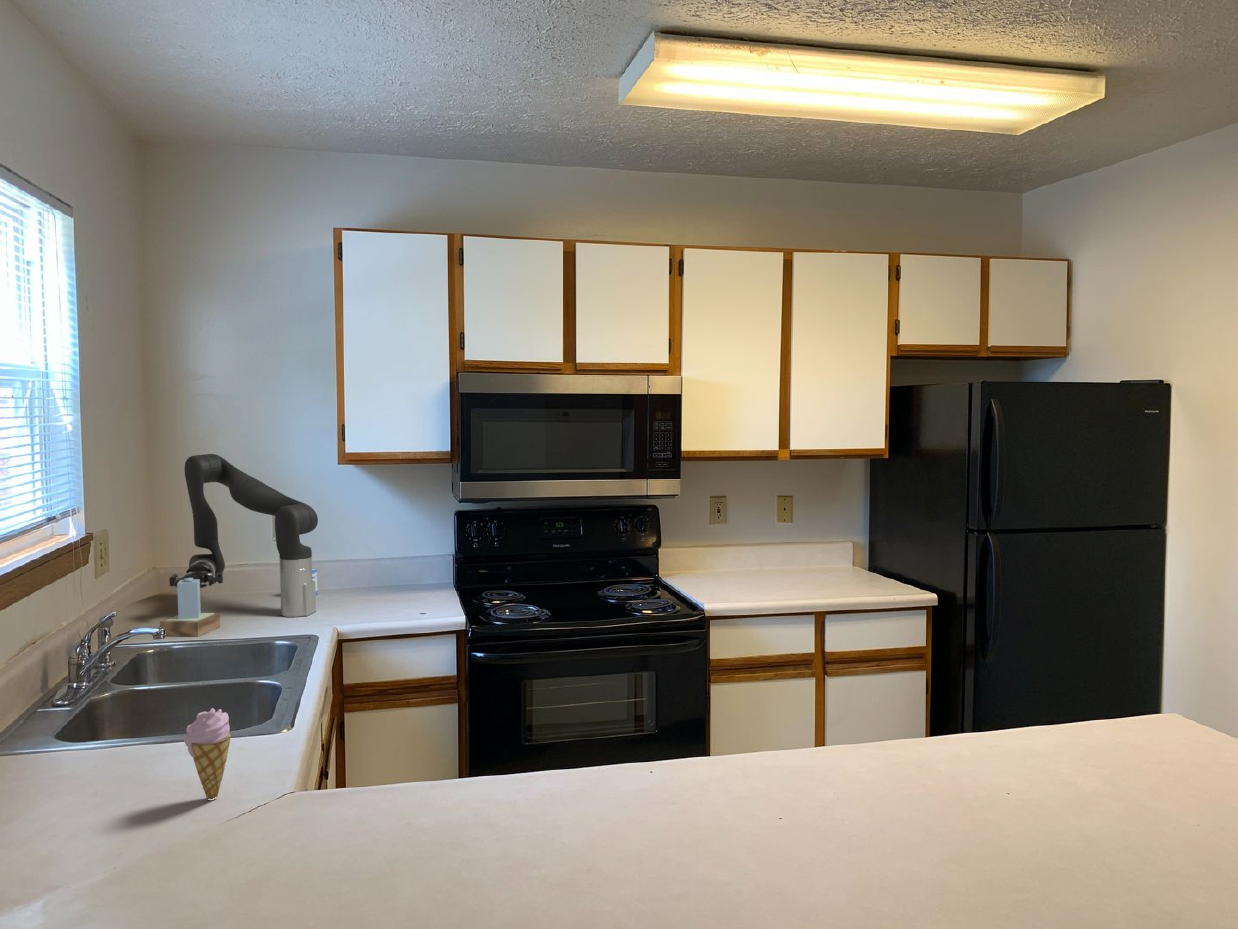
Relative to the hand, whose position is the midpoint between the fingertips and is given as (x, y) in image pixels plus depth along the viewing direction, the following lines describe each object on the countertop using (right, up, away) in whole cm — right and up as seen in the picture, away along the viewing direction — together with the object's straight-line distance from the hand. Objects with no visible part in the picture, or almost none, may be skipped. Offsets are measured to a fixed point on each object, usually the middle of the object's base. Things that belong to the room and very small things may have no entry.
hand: (194, 583), depth 257 cm
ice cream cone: (+58, -19, -116) cm, 131 cm away
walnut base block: (+3, -12, -9) cm, 15 cm away
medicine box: (+18, -9, +38) cm, 43 cm away
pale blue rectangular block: (+3, -8, -9) cm, 13 cm away
